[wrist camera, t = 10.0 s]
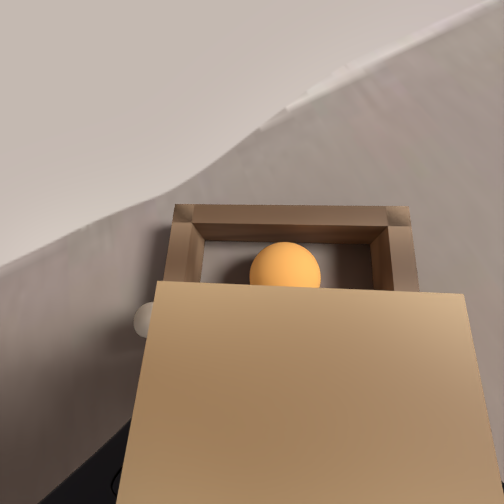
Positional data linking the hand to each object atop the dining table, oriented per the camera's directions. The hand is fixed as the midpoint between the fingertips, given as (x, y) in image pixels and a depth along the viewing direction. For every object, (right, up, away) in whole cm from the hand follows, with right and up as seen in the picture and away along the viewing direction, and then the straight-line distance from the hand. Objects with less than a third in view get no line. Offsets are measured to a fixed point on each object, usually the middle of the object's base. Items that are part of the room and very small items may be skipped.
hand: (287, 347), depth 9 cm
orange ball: (+1, +2, +6) cm, 6 cm away
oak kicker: (0, -4, +6) cm, 7 cm away
